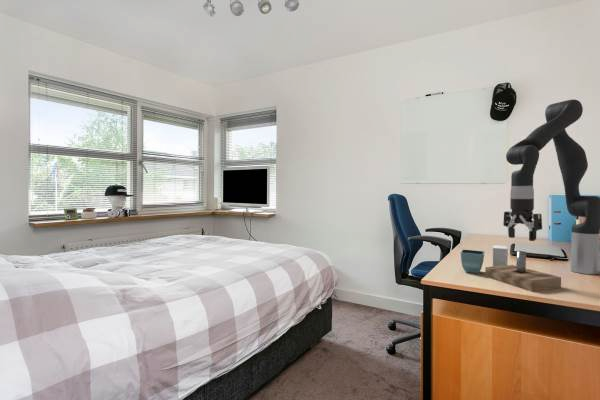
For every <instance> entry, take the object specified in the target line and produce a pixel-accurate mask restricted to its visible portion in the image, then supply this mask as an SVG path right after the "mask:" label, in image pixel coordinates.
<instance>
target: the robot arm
mask: <svg viewBox="0 0 600 400" xmlns="http://www.w3.org/2000/svg"><path fill="white" fill-rule="evenodd" d="M583 108H584V107H583V105H582V103H581V102H580V100H577V99H567V100H563V101H559V102H555V103H551V104H548V105H547V107H546V108H545V111H544V116H545V120H546V122H545V123H543V124H541V125H540V126H538V127H536V128H535V129H534V130H532V131H531V132H530V134H528V136H526V138H524V139H522V140H520V141H519V142H517V143H515V144H514V145H512V146H511V147H510V148H508V150H507V152H506V155H505V160H506V162H508V163H509V164H510V165H515V166H516V165H517V166H518V165H521V167H520V169H518V170H514V171H513V172H512V173H511V176H510V177H511V180H510V182H511V183H510V186H511V187H510V196H509V197H510V199H509V200H510V206H509V208H510V210H511V211H504V212H503V225H502V226H503V227H506V228H507V231H508V232H507V235H508V237H509V238H511V239H513V238H515V237H516V228H515V227H516V226H517V225H518V224H521V225H525V226H526V227H527V228H528V235H529V236H528V240H529V242H535V241H536V240H537V231H540V230H543V218H542V217H543V216H542V213H534V212H533V210H534V209H535V202H534V201H535V190H534V175H535V171H536V168H537V165H538V163H539V162H538V161H539V158H540V151H541V150H542V149H544V147H546V146H547V144H549V142H550V141H553V144H554V149H555V153H556V157H557V162H558V166H559V170H560V174H561V178H562V181H563V182H562V183H563V186H564V187H563V188H564V195H565V204H566V209H567V212H568V214H570V215H571V216H572V217H580V218H585V220H584V221H583V222H580V223H577V224H573V225H572V226H571V233H570V234H571V238H570V240H571V245H570V250H571V251H570V271H571V272H574V273H577V274H583V275H599V274H600V197H599V196H596V195H581V193H580V183H581V181H582V179H583V177H585V174H586V172H587V170H588V167H589V165H588V159H587V154H586V151H585V149H584V148H583V147H582V146H581V145H580V144H579V143H578V142H577V141H576V140H574V139H573V138H572V137H571V136H570V134H569V133H568V132H567V130H566V129H567V128H568V127H570V126H571V125H573V124H574V123H575V122H577V121H578V120H579V119H580V118H581V117H582V115H583V110H584V109H583Z"/></svg>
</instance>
